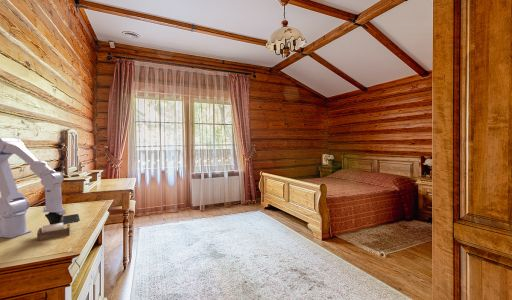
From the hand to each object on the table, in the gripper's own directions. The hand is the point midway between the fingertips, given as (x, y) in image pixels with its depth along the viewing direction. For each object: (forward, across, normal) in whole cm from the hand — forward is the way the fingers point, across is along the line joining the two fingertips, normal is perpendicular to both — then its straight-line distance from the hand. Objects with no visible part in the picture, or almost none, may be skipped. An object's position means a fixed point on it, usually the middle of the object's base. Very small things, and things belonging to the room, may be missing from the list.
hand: (55, 228), depth 111 cm
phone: (+2, -16, +14) cm, 21 cm away
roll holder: (+2, +4, -2) cm, 5 cm away
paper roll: (0, +3, -2) cm, 4 cm away
